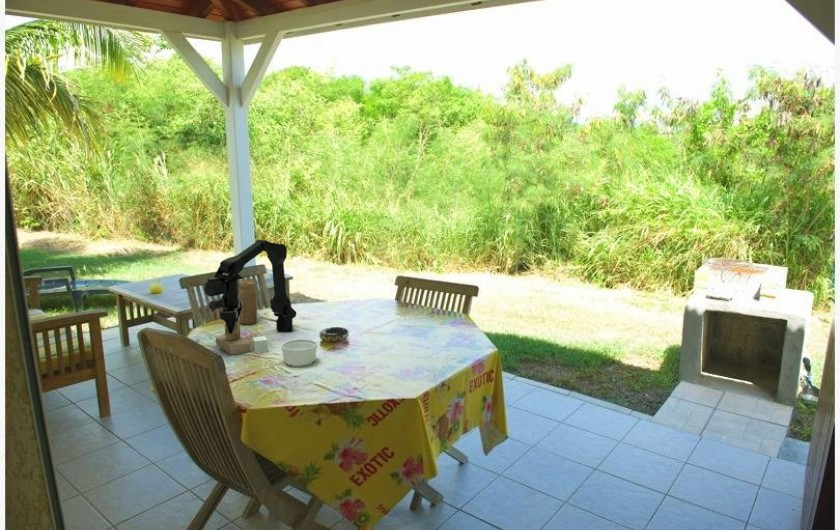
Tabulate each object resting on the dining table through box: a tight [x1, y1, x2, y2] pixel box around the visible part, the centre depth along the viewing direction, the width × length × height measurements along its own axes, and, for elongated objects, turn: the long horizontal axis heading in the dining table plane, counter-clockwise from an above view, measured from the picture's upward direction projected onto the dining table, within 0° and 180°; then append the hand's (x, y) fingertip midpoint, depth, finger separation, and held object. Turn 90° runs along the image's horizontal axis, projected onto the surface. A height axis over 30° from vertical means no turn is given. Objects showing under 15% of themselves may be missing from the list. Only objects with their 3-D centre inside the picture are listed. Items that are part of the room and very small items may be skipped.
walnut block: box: [224, 321, 241, 340], centre depth 224 cm, size 5×5×6 cm
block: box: [238, 278, 258, 325], centre depth 259 cm, size 11×8×20 cm
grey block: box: [252, 335, 269, 354], centre depth 223 cm, size 5×5×5 cm
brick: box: [215, 333, 252, 355], centre depth 225 cm, size 17×8×5 cm, turn 41°
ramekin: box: [280, 338, 318, 367], centre depth 212 cm, size 13×13×7 cm
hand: (232, 329), depth 224 cm, fingers open, 9 cm apart
